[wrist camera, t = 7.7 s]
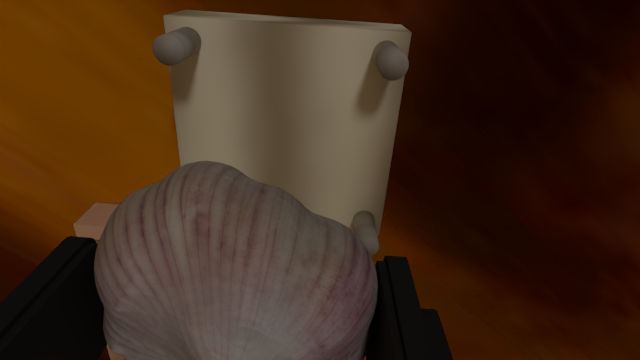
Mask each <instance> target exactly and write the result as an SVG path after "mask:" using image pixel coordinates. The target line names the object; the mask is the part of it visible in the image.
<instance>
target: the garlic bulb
mask: <svg viewBox="0 0 640 360" xmlns="http://www.w3.org/2000/svg"><path fill="white" fill-rule="evenodd" d="M94 276H95V284H96V287H97V291H98V294H99V297H100V299H101V301H102V303H103V306H104V318H103V330H104V335H105V339H106V341H107V344H108V346H109V348H110V349H111V351H112V352H113V353H116V354H118V355H120V356H122V357H123V358H125V359H126V360H363V359H364V357H365V356H366V354H367V351H368V347H369V344H370V340H371V321H372V318H373V316H374V312H375V309H376V306H377V301H378V280H377V273H376V267H375V265H374V262H373V259H372V258H371V256H370V254H369V252H368V250H367V248H366V247H365V245H364V244H363V243H362V241H361V240H360V239H359V238H358V237H357V236H356V235H355V234H354V233H353V232H352V231H351V230H350V229H349V228H348V227H346V226H345V225H343V224H341V223H339V222H337V221H335V220H333V219H330V218H326V217H323V216H321V215H318V214H315V213H313V212H311V211H310V210H308V209H307V208H306V207H305V206H304V205H303V204H302V203H301V202H300V201H299V200H298V199H296V198H295V197H294V196H293V195H291V194H290V193H288V192H286V191H285V190H283V189H281V188H279V187H275V186H272V185H269V184H265V183H261V182H257V181H255V180H253V179H251V178H249V177H248V176H246V175H245V174H243V173H242V172H241V171H239V170H238V169H236V168H234V167H232V166H230V165H227V164H224V163H219V162H212V161H198V162H193V163H188V164H186V165H184V166H182V167H179V168H177V169H175V170H174V171H172V172H171V173H169V174H168V175H167V176H166V177H165V178H163V179H162V180H161V181H159V182H158V183H156V184H154V185H150V186H147V187H144V188H142V189H140V190H138V191H136V192H134V193H132V194H130V195H129V196H127V197H126V198H125V199H124V200H123V201H122V202H121V203H120V204H119V205H118V206H117V207H116V208H115V210H114V211H113V213H112V214H111V216H110V217H109V219H108V221H107V223H106V226H105V228H104V230H103V232H102V235H101V237H100V240H99V242H98V245H97V249H96V254H95V261H94Z"/></svg>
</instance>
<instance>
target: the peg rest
mask: <svg viewBox="0 0 640 360" xmlns="http://www.w3.org/2000/svg"><path fill="white" fill-rule="evenodd" d="M163 17H164V25H165V34H163V35H160V36H158V37H157V38H156V39H155V41H154V43H153V52H154V55H155V57H156V58H157V59H158V60H159V61H160V62H161V63H163V64H165V65H168V66H169V69H170V78H171V87H172V95H173V104H174V113H175V122H176V130H177V139H178V148H179V156H180V165H181V167H182V166H184V165H186V164H188V163H193V162H198V161H212V162H219V163H224V164H227V165H230V166H232V167H234V168H236V169H238V170H239V171H241V172H242V173H243V174H245V175H246V176H248V177H249V178H251V179H253V180H255V181H257V182H261V183H265V184H269V185H272V186H275V187H279V188H281V189H283V190H285V191H286V192H288V193H290V194H291V195H293V196H294V197H295V198H296V199H298V200H299V201H300V202H301V203H302V204H303V205H304V206H305V207H306V208H307V209H308V210H310V211H311V212H313V213H315V214H318V215H321V216H323V217H326V218H330V219H333V220H335V221H337V222H339V223H341V224H343V225H345V226H346V227H348V228H349V229H350V230H351V231H352V232H353V233H354V234H355V235H356V236H357V237H358V238H359V239H360V240H361V241H362V243H363V244H364V245H365V247H366V248H367V250H368V252H369V254H370V256H373V255H374V254H376V253H377V252H378V250H379V242H378V236H377V235H379V234H380V227H381V221H382V215H383V208H384V202H385V196H386V190H387V183H388V177H389V171H390V165H391V158H392V152H393V146H394V139H395V133H396V127H397V121H398V114H399V108H400V102H401V96H402V89H403V83H404V77H405V74H406V72H407V70H408V67H409V62H408V52H409V45H410V39H411V33H412V32H410V31H409V30H408V29H406V28H405V27H404V26H402V25H400V24H385V23H370V22H356V21H341V20H326V19H312V18H297V17H282V16H268V15H253V14H239V13H224V12H209V11H195V10H183V11H179V12H175V13H171V14H168V15H164V16H163Z"/></svg>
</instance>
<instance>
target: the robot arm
mask: <svg viewBox="0 0 640 360" xmlns="http://www.w3.org/2000/svg"><path fill="white" fill-rule="evenodd" d="M97 245H98V243H96V241H95V240H94V239H93V238H90V237H74V236H70V237H67V238H66V239H64V240H63V241H62V242H61V243H60V244H59V245H58V246H57V247H56V248H55V249H54V250H53V251H52V252H51V253H50V254H49V255H48V256H47V257H46V258H45V259H44V260H43V261H42V262H41V263H40V264H39V265H38V266H37V267H36V268H35V269H34V270H33V271H32V272H31V273H30V274H29V275H28V276H27V277H26V278H25V279H24V280H23V281H22V282H21V283H20V284H19V285H18V286H17V287H16V288H15V289H14V290H13V291H12V292H11V293H10V294H9V295H8V296H7V297H6V298H5V299H4V300H3V301H2V302H1V303H0V360H98V359H99V357H100V355H101V354H102V352H103V350H104V349H105V347H106V345H107V341H106V339H105V335H104V330H103V318H104V306H103V303H102V301H101V299H100V297H99V294H98V291H97V287H96V284H95V276H94V261H95V254H96V249H97ZM376 273H377V280H378V301H377V306H376V309H375V312H374V316H373V318H372V321H371V340H370V344H369V347H368V351H367V354H366V360H453V358H452V355H451V352H450V349H449V346H448V342H447V339H446V336H445V333H444V330H443V327H442V324H441V321H440V318H439V315H438V313H437V311H436V310H435V309H421V308H420V304H419V301H418V297H417V293H416V290H415V286H414V282H413V279H412V275H411V271H410V268H409V264H408V260H407V258H406V257H395V256H385V257H384V261H377V263H376Z"/></svg>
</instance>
